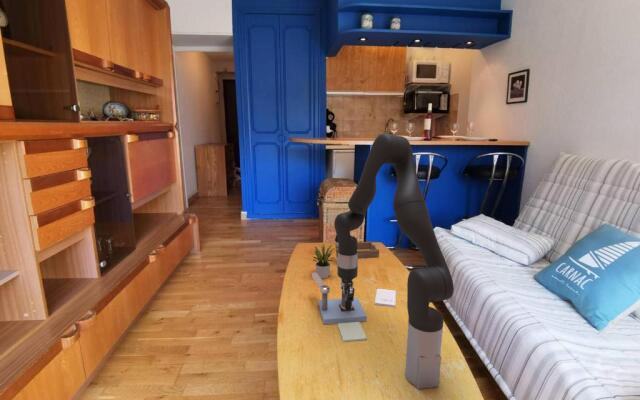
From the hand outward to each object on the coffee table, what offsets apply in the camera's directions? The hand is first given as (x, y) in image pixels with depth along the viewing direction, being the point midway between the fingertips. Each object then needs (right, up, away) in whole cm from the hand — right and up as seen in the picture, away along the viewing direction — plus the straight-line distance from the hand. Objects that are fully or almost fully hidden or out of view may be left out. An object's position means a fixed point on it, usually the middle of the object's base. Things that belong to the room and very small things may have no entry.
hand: (346, 305), depth 134 cm
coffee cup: (+2, +7, +47) cm, 48 cm away
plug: (0, -3, +1) cm, 3 cm away
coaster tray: (+14, +11, +61) cm, 63 cm away
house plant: (-7, +4, +32) cm, 33 cm away
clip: (-10, +7, +3) cm, 13 cm away
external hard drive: (+17, -1, +11) cm, 20 cm away
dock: (-2, -3, 0) cm, 3 cm away
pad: (+1, -6, -12) cm, 13 cm away
